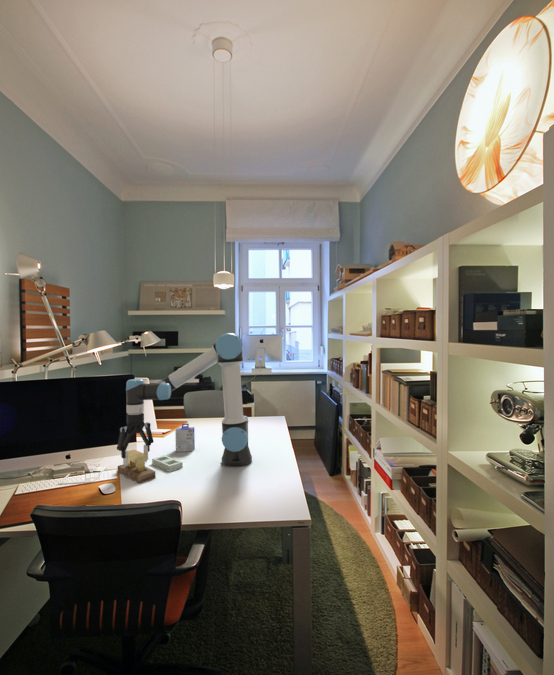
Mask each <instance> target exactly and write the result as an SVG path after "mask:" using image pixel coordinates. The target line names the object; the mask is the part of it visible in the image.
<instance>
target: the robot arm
mask: <svg viewBox="0 0 554 675" xmlns="http://www.w3.org/2000/svg"><path fill="white" fill-rule="evenodd" d="M243 356H244V355H243V341H242V339H241V337H240V336H239V335H238V334H236V333H233V332H226V333H223V334H221V335H219V337H218V338H217V340H216V341H215V342H214V344H212V345H211V348H210V349H208V350H207V351H205V352H203V353H202V354H200V355H199V356H197V357H195V358H194V359H192V360H190V361H189V362H188V363H186V364H184V365H183V366H181V367H180V368H178V369H177V370H175V371H173V372H172V373H169V375H167V376H166V377H164V378H162V379H161V380H159V381H157V382H156V383H155V382H154V383H153V382H152V383H145V381H144V379H142V378H133V379H128V380H127V381H126V387H125V394H126V396H125V397H126V403H125V404H126V407H125V408H126V425H125V426H123V427H122V426H121V427H119V435H118V441H117V447H116V450H117V451H119V452H121V453H120V454H121V455H120V456H121V458H122V462H123V463H122V465H126V466H127V465H128V451H129V450H127V448H128V446H129V444H130V441H131V439H132V437H133V436H134V435H135V434H139V435H140V437H141V439H142V441H143V442H144V444H143V453H144V454H146V455H147V461H148V460H149V452H150V450H151V449H150V447H151V445H152V444H153V443H154V442H155V441H154V437H153V434H152V429H151V423H150V422H149V421H148V422H145V401H151V400H152V401H155V400H156V401H158V400H159V401H164V400H169V399H170V398H171V396H172V392H173V391H175V390H176V389H178V388H180V387H181V386H182V385H184V384H185V383H188V382H189V381H190V380H192V379H194V378H196V377H197V376H198V375H200V374H201V373H203V372H204V371H206V370H208V369H210V368H211V367H212V366H214V365H215V364H217V363H218V365H219V366H220V367H221V380H222V395H223V396H222V397H223V410H224V417H223V419H222V420H221V431H222V434H221V435H222V436H221V443H222V445H223V447H224V450H223V454H222V457H221V464H222V465H224V466H226V467H233V468H234V467H243V466H244V467H245V466H247V465H249V464H251V463H252V461H253V457H252V453H251V450H250V447H249V420H248V419H249V417H248V416H247V415H244V408H243V407H244V406H243V393H242V392H243V391H242V390H243V389H242V379H241V378H242V376H241V364H242V363H243V362H244V357H243ZM144 428H145V431H144ZM145 432H146V433H145Z"/></svg>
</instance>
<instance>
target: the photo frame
mask: <svg viewBox="0 0 554 675" xmlns="http://www.w3.org/2000/svg"><path fill="white" fill-rule="evenodd" d="M88 468H89V470H90V472H91V473H94V472H93V471H101V472H98V474H97V475H96V477H94V479H93V480H85V481H83V480H82V481H68V482H64V481H65V480H66V479H67V478H69V477H70V476H71V475H70V474H69V473H68V474H67V475H66V476H65V477H63V478H62V479H61V480H60V481H59V482H58V483H57V485H71V484H88V483H94V482H95V481H96V480H97V479H98V478H99V477H100V476H101V475H102V474H103V473H104V472H105V471H106V470H107V469H108V466H96V467H88ZM103 471H104V472H103ZM102 472H103V473H102ZM101 473H102V474H101ZM100 474H101V475H100ZM69 475H70V476H69ZM99 475H100V476H99ZM98 476H99V477H98ZM97 477H98V478H97Z"/></svg>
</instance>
